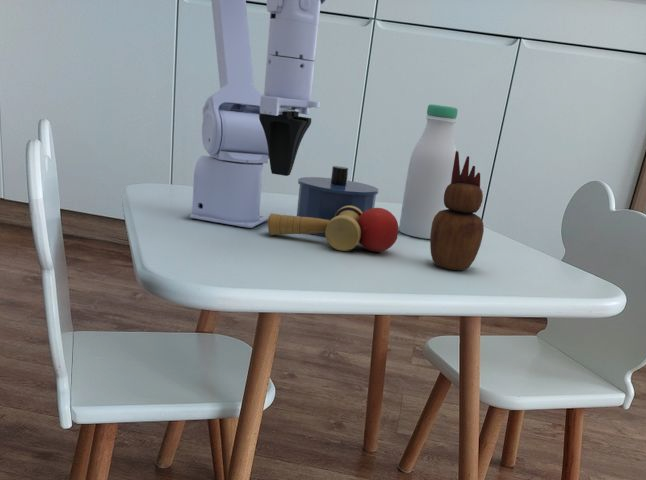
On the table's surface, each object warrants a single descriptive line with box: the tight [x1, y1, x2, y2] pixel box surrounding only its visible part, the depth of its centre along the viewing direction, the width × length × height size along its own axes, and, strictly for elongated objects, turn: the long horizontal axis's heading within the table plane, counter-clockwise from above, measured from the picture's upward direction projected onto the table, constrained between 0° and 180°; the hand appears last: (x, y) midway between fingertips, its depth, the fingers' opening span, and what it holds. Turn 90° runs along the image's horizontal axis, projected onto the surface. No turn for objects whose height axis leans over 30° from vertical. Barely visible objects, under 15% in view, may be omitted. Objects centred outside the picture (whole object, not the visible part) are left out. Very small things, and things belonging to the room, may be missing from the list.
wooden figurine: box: [429, 150, 485, 271], centre depth 90 cm, size 7×6×15 cm
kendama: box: [267, 206, 399, 253], centre depth 95 cm, size 8×6×18 cm
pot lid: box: [297, 165, 379, 196], centre depth 103 cm, size 12×12×4 cm
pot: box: [296, 184, 377, 238], centre depth 104 cm, size 11×11×6 cm
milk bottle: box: [398, 103, 458, 240], centre depth 108 cm, size 8×8×20 cm
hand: (280, 174), depth 86 cm, fingers closed
